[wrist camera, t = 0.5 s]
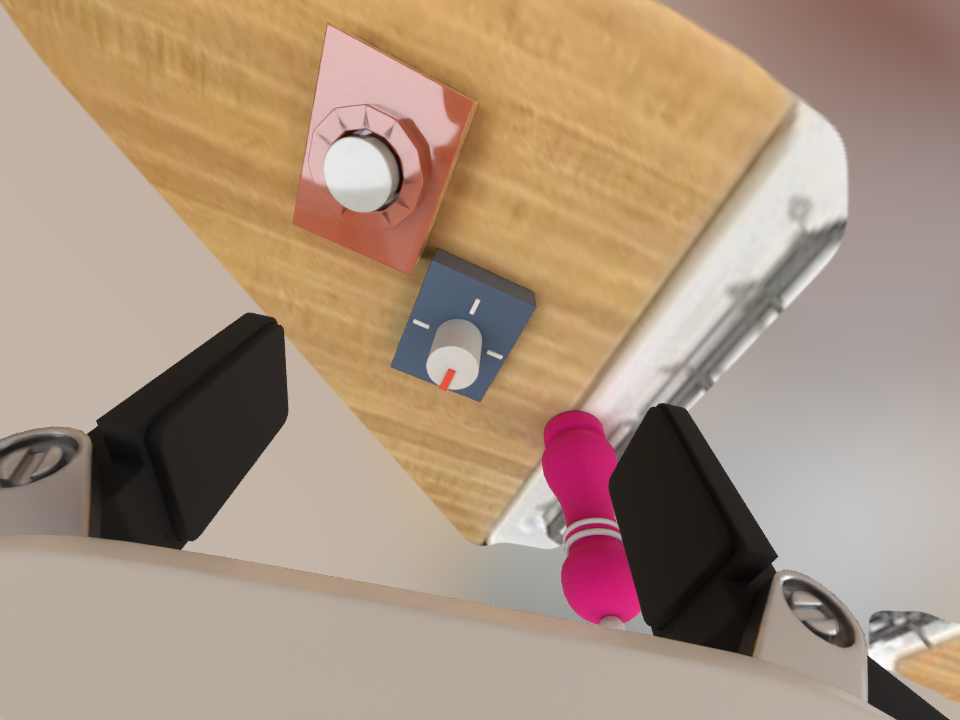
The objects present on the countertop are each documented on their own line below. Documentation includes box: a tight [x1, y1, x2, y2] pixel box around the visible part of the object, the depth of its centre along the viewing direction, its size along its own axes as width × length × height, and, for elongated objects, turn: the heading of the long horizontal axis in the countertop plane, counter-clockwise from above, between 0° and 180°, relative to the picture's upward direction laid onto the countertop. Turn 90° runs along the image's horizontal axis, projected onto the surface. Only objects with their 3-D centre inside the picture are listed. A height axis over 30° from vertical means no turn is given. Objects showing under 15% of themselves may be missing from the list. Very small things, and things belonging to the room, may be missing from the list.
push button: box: [323, 135, 399, 213], centre depth 23 cm, size 4×4×2 cm
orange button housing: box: [293, 23, 479, 275], centre depth 26 cm, size 12×9×6 cm
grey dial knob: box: [426, 319, 482, 391], centre depth 31 cm, size 4×4×5 cm
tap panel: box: [391, 249, 536, 402], centre depth 34 cm, size 11×9×3 cm
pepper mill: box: [542, 411, 641, 631], centre depth 34 cm, size 7×7×20 cm
